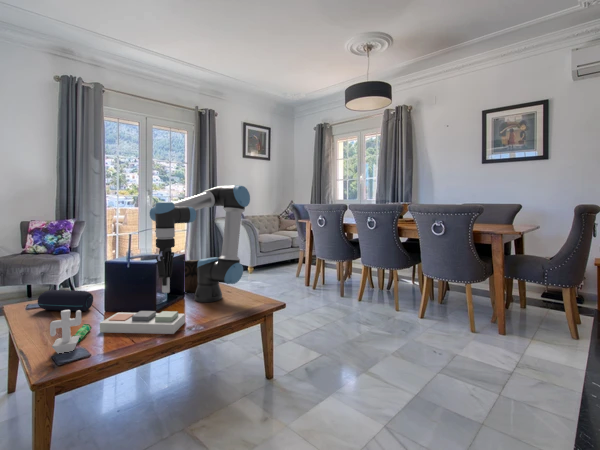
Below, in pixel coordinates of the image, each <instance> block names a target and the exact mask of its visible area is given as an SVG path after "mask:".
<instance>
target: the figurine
mask: <svg viewBox="0 0 600 450" xmlns="http://www.w3.org/2000/svg"><path fill="white" fill-rule="evenodd" d="M60 318H61V319H59V320H52V321H51V322H50V324H49V335H50V336H51V337H55V336H56V334H57V329H61V333H62V334H61V337H59V338H56V339H55V341H54V342H53V344H52V346H51V347H52V349H54V351H55V352H56V354H58V355H60V354H59V353H62V354H65V353H64V352H69V351H73V350H74V351H75V349H76V346H77V343H79V342H78V340H79V337H80V335H79V336H73V335H72V333H71V332H72V331H71V328H72V327H77V326H80V325H81V324H82V311H80V310H78V311H75V318H74V317H73V318H71V311H70V310H63V311H60ZM74 351H73V352H74ZM69 353H70V352H69Z"/></svg>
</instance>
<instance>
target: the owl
mask: <svg viewBox="0 0 600 450" xmlns="http://www.w3.org/2000/svg"><path fill="white" fill-rule="evenodd" d="M199 260H200V259H189V260H188V259H187V260H184V261H185V292H186V293H185V294H195V293H196V289H197V286H198V276H197V266H198V261H199Z"/></svg>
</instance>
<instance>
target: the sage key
mask: <svg viewBox="0 0 600 450" xmlns="http://www.w3.org/2000/svg"><path fill="white" fill-rule="evenodd" d="M159 313H160V314H158V315H157V316H156V317H155V322H173V321H174V320H175V319H176V318H177V317H178V314H179V311H175V310H174V311H168V310H165V311H164V310H162V311H161V312H159Z"/></svg>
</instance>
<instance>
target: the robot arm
mask: <svg viewBox="0 0 600 450" xmlns="http://www.w3.org/2000/svg"><path fill="white" fill-rule="evenodd" d="M250 203H251V194H250V191H249V190H248V188H247V187H246V186H244V185H240V184H239V185H238V184H237V185H236V184H235V185H233V184H232V185H219V186H215V187H212V188H209V189H205V190H203V191H202V192H201V193H198V194H197V195H193V196H189V197H186V198H183V199H181V200H177V201H173V202H171V201H157V202H156V203H155V205H154V206H153V207H151V208H150V210H149V217H150V219H151V220H152V221H153V222H154V223H155V230H154V232H155V238H156V239H155V247H156V248H157V249H159V250H158V255H157V256H155V261H156V265H157V271H158V276H159V277H158V278H159V279H161V293H163V294H164V293H165V294H169V293H170V292H171V289H170V287H171V286H170V284H171V283H170V282H171V280H170V278H171V277H173V275H172V274H173V266H174V257H175V252H174V251H172V250H173V249H172V248H174V247H175V246H176V244H175V243H176V242H175V241H176V239H175V237H176V233H175V232H176V228H175V227H176V225H175V224H190V223H193V222H195V221H196V220H197V211H199V210H201V209H204V208H212V207H222V209H223V210H224V211H225V218H224V227H223V237H222V238H223V239H222V248H221V255H220V256H219V257H217V256H216V257H215V256H214V257H208V258H207V257H205V258H201V259H198V260H199V261H198V266H197V276H198V286H197V289H196V293H194V301H196V302H198V303H213V302H217V301H220V300H222V298H223V292H222V290H221V287H220V283H223V284H227V285H235V284H237V283H238V282H240V280H241V278H242V277H243V275H244V266H243V264H242V263H240V262H241V259H240V258H239V255H238V253H239V252H238V251H239V244H240V233H241V232H240V231H241V222H242V214H243V213H244V212H245V210H246V209H245V208H246V207H249V205H250Z"/></svg>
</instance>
